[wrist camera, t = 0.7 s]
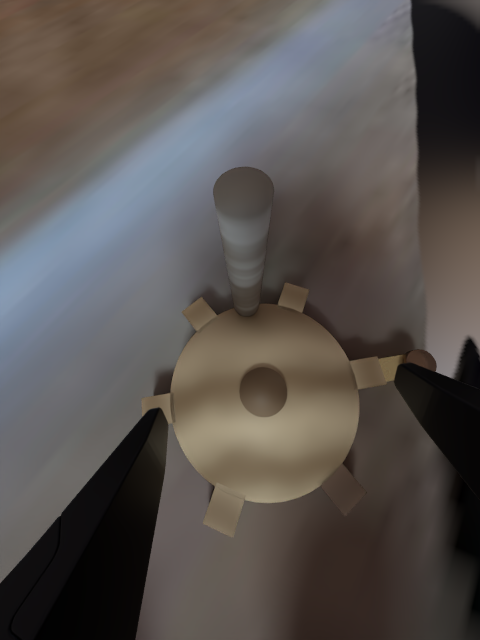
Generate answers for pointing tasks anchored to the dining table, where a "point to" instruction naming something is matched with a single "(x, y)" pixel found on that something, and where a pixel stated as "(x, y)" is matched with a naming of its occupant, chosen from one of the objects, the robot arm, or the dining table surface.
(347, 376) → the index wheel
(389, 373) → the pointer
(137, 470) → the robot arm
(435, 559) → the dining table surface
